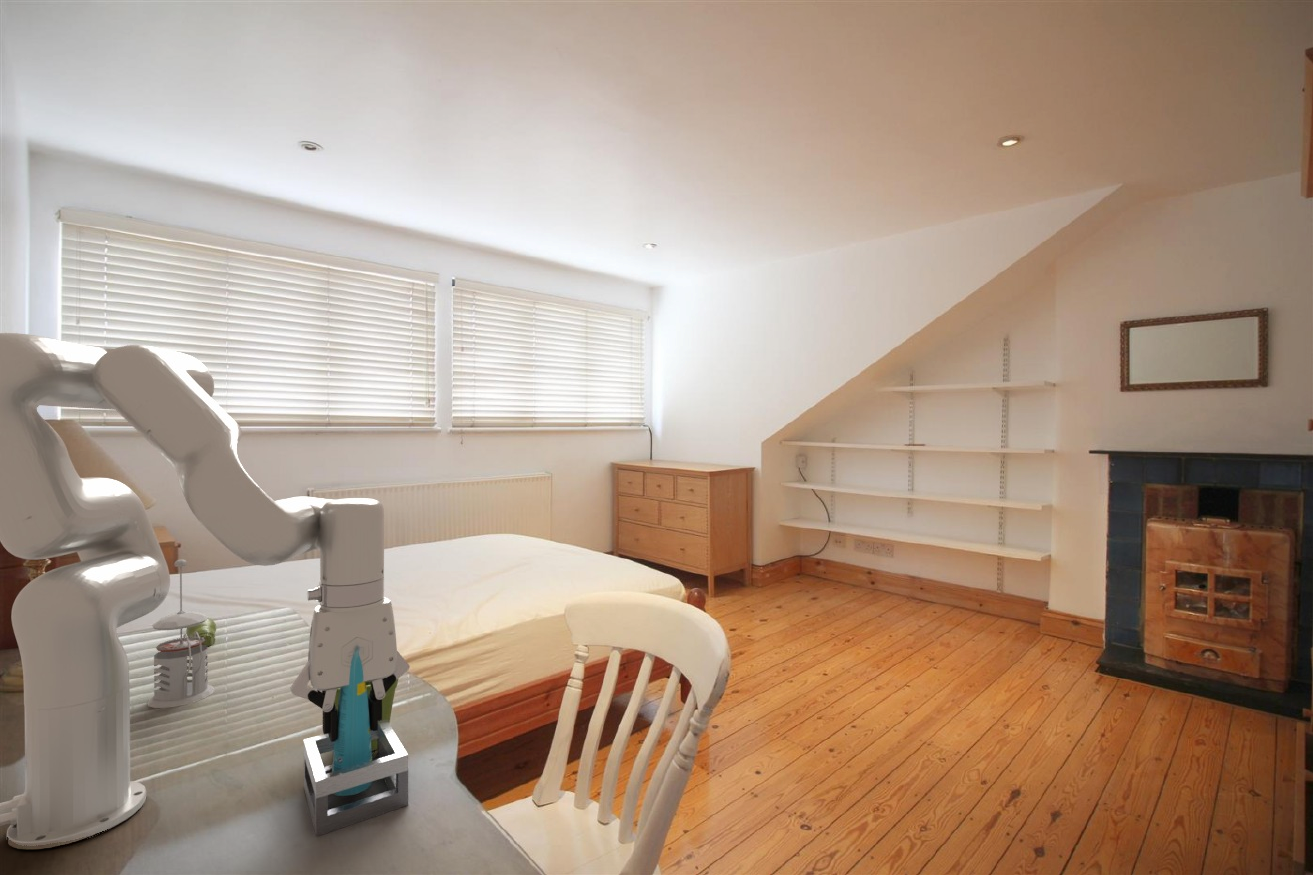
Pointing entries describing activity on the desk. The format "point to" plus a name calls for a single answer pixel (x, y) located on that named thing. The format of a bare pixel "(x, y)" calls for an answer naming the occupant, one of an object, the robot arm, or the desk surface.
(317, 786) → the square metal frame
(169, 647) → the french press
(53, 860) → the desk surface
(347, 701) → the tube
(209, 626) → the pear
